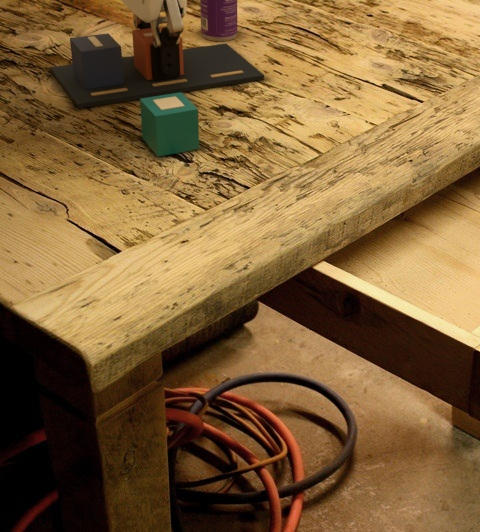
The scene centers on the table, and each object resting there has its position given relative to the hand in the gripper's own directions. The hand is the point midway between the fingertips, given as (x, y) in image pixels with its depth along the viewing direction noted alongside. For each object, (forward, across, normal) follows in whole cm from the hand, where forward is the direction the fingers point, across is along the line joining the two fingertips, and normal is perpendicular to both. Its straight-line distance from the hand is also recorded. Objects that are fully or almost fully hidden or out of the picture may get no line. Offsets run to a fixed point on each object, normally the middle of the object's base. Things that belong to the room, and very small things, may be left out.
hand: (158, 68), depth 108 cm
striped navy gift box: (0, 0, -7) cm, 7 cm away
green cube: (+1, +17, -5) cm, 18 cm away
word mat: (+1, 0, 0) cm, 1 cm away
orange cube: (0, 0, 0) cm, 0 cm away
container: (+1, -10, +12) cm, 16 cm away
